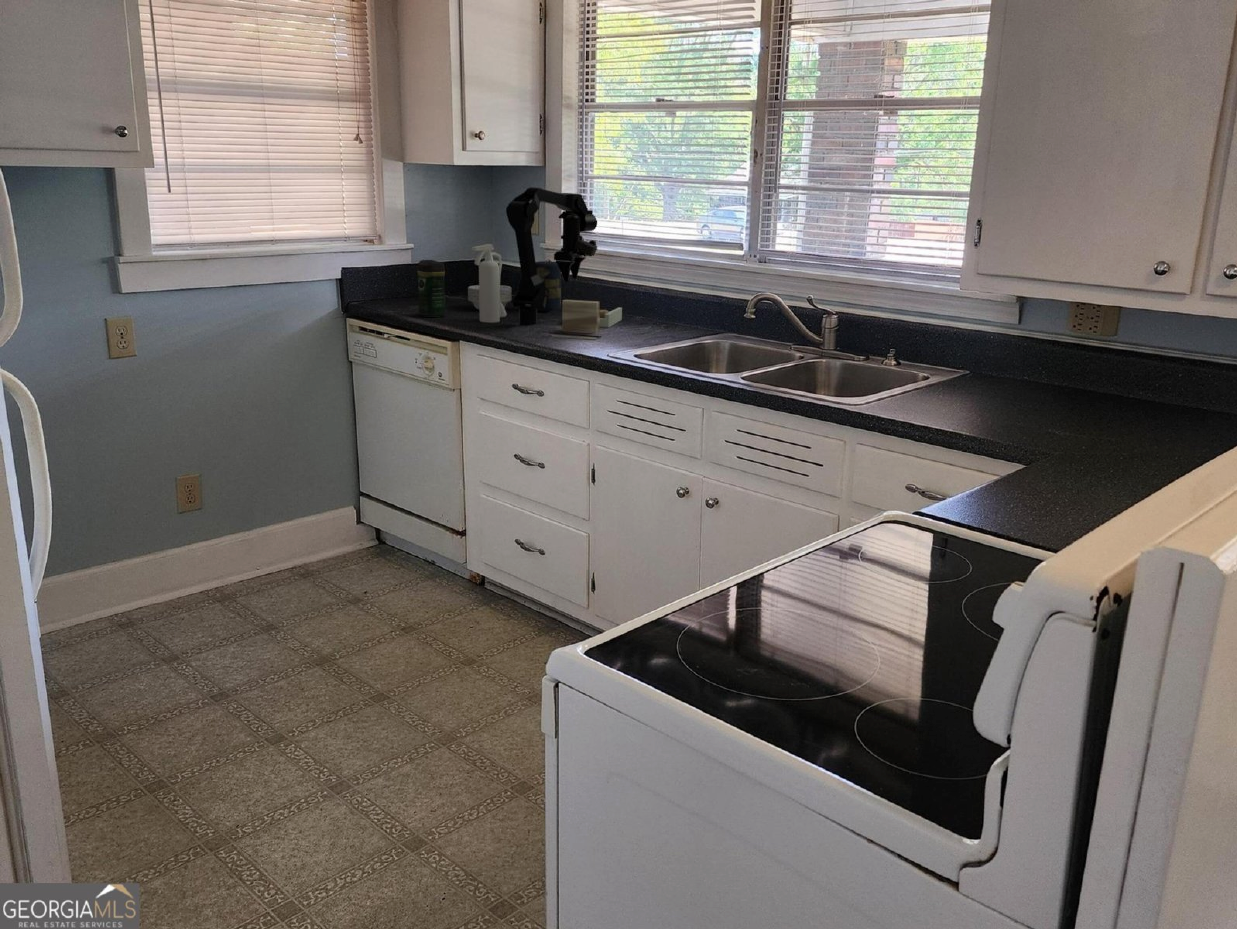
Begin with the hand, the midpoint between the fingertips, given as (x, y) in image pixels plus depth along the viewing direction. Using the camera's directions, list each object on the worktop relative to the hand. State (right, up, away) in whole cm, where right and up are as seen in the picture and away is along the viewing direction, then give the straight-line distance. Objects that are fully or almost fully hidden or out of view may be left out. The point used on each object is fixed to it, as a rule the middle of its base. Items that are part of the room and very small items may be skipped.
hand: (570, 280), depth 353 cm
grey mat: (+4, -21, -25) cm, 33 cm away
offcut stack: (+7, -16, -11) cm, 21 cm away
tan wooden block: (+4, -21, -25) cm, 33 cm away
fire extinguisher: (-26, -14, -4) cm, 30 cm away
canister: (-9, -7, +20) cm, 23 cm away
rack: (+8, -16, -7) cm, 19 cm away
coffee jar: (-47, -12, +4) cm, 48 cm away
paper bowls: (-30, -7, +21) cm, 37 cm away
